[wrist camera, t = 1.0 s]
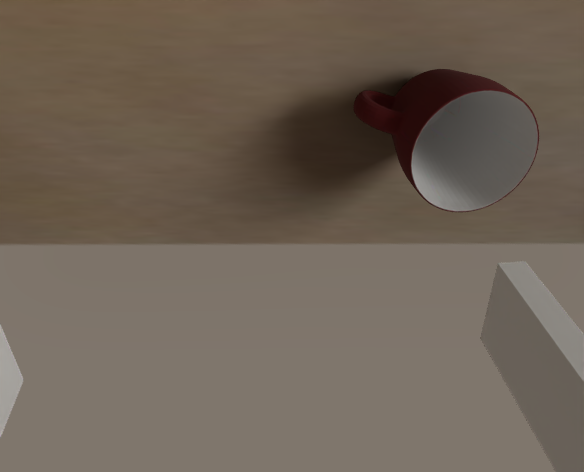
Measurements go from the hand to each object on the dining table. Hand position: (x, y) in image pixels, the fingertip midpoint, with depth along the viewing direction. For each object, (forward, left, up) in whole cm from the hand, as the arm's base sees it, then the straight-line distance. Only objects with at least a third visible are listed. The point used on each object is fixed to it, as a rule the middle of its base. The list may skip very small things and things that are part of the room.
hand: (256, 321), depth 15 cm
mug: (+3, +13, -28) cm, 31 cm away
